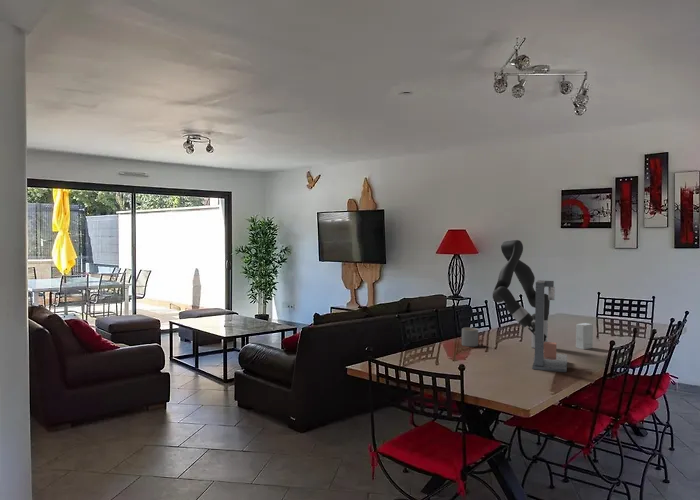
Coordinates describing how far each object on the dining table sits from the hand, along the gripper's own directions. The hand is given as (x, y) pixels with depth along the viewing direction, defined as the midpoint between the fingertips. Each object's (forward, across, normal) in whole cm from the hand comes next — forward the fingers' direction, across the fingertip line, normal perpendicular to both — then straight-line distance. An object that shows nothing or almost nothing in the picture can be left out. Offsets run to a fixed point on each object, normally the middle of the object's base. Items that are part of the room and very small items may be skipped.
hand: (545, 339), depth 277 cm
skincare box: (+23, +52, -5) cm, 57 cm away
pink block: (+8, 0, +4) cm, 9 cm away
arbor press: (+11, -4, +7) cm, 14 cm away
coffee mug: (-23, +34, +41) cm, 58 cm away
